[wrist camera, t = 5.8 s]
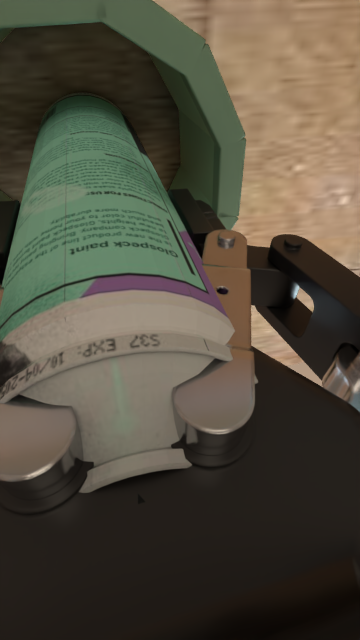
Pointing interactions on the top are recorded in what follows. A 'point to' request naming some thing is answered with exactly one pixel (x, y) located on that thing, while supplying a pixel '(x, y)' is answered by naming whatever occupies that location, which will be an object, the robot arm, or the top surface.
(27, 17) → the hollow green tube
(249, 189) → the top surface
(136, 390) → the spray can
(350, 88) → the top surface
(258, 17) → the top surface
